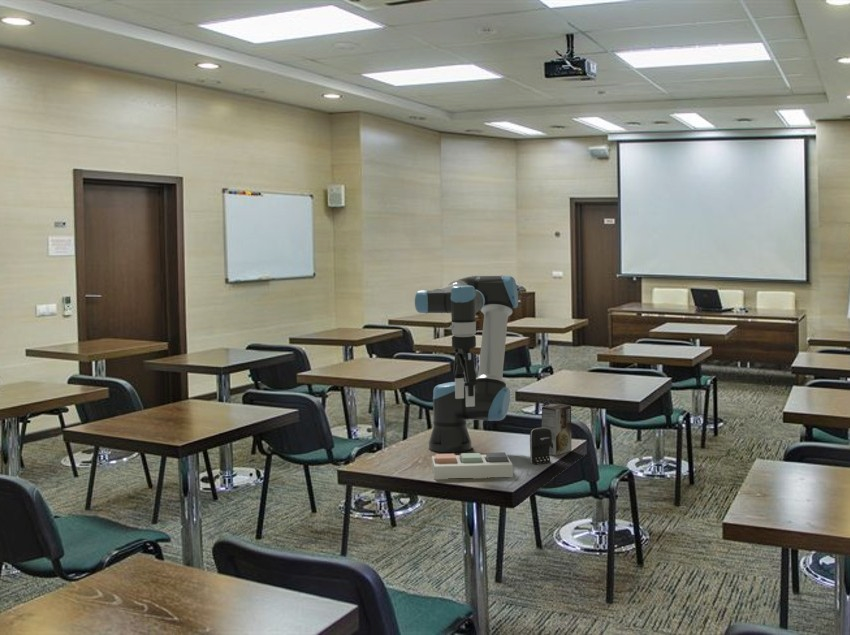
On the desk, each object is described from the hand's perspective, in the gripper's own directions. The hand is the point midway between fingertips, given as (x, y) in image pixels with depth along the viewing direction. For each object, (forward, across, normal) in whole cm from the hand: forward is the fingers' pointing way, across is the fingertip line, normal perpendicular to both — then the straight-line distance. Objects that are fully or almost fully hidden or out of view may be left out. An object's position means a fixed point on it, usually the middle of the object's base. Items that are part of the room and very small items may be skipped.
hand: (464, 402), depth 267 cm
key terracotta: (+19, +2, -7) cm, 21 cm away
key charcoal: (+19, +4, +9) cm, 22 cm away
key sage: (+19, +3, +1) cm, 20 cm away
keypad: (+22, +3, +1) cm, 22 cm away
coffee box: (+23, -16, +36) cm, 46 cm away
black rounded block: (+22, -3, +26) cm, 35 cm away
